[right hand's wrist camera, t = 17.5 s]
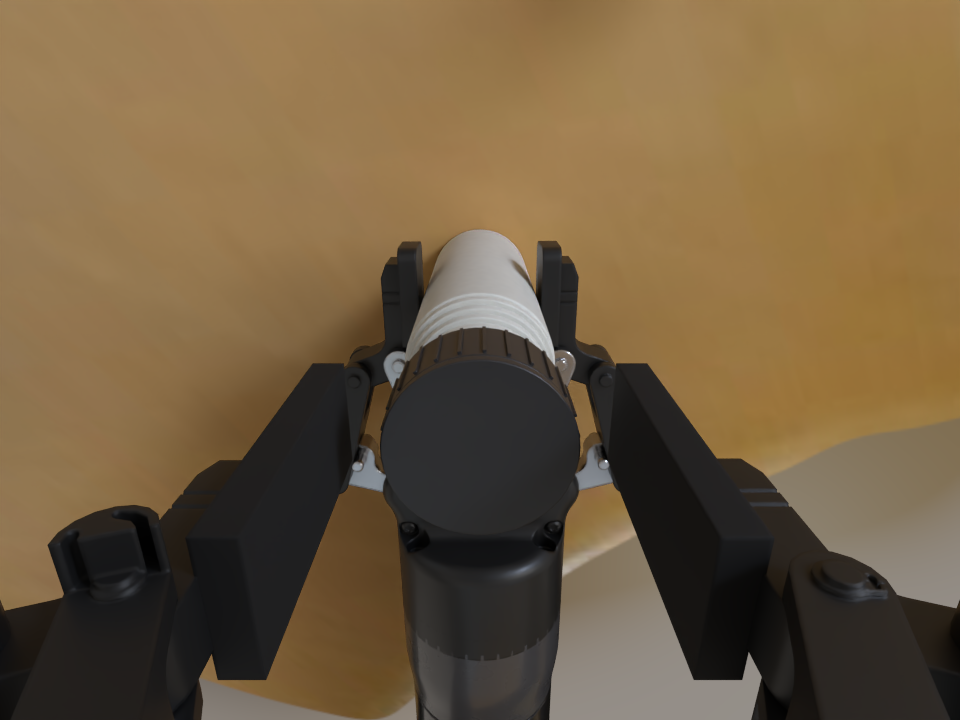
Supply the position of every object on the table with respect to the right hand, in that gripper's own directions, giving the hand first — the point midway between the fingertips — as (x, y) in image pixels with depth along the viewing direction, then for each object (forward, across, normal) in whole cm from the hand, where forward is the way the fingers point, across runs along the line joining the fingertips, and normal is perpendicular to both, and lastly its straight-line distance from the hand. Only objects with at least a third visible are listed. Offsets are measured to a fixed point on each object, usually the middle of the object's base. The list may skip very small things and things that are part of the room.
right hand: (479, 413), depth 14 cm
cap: (-2, 0, 0) cm, 2 cm away
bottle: (+15, 0, 0) cm, 15 cm away
